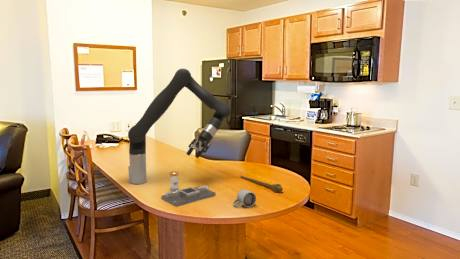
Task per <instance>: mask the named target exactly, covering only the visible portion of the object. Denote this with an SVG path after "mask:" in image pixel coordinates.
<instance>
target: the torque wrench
mask: <svg viewBox="0 0 460 259" xmlns="http://www.w3.org/2000/svg"><path fill="white" fill-rule="evenodd" d="M240 178H241V179H243V180H245V181H249V182H252V183H255V184H258V185H262V186H265V187H268V188H270V189H272V190H273V191H274V192H275V193H280V192H282V191H283V187H282V185H281V184H280V183H275V184H270V183H267V182H263V181H261V180H256V179H254V178H250V177H246V176H244V175H240Z"/></svg>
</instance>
